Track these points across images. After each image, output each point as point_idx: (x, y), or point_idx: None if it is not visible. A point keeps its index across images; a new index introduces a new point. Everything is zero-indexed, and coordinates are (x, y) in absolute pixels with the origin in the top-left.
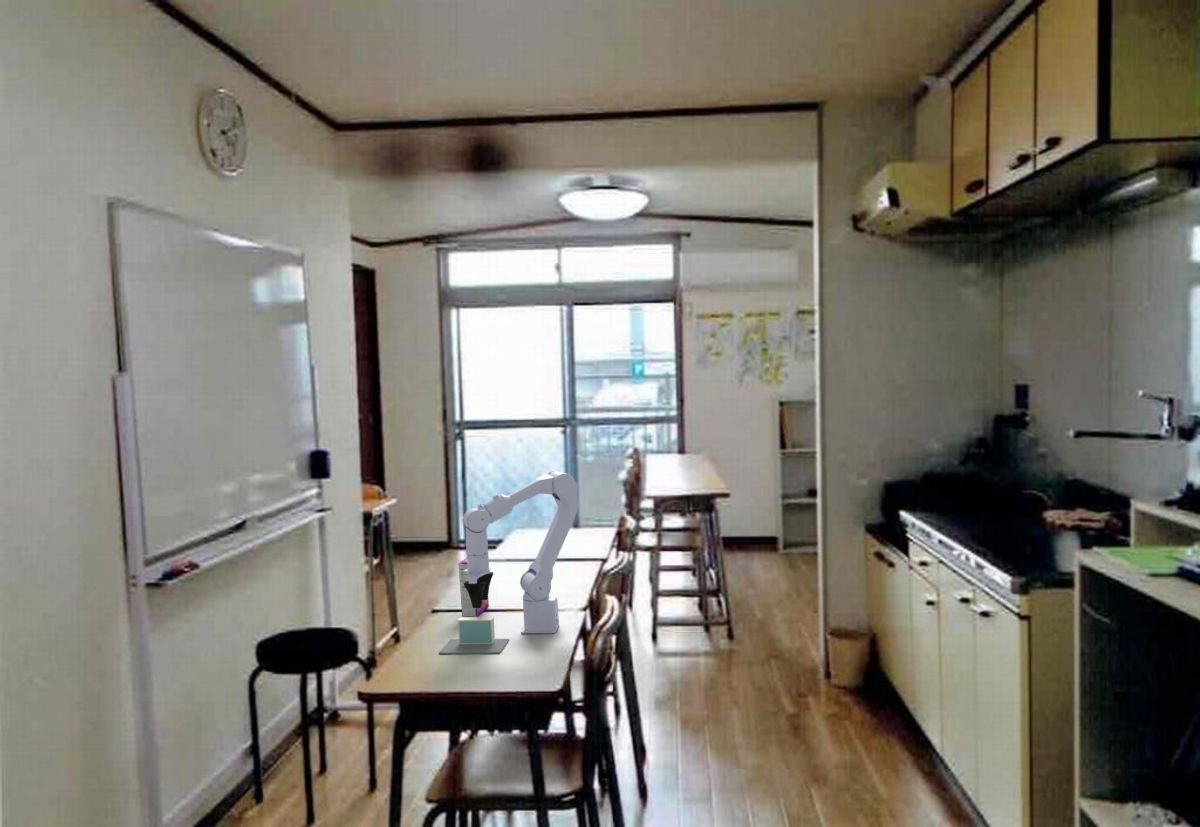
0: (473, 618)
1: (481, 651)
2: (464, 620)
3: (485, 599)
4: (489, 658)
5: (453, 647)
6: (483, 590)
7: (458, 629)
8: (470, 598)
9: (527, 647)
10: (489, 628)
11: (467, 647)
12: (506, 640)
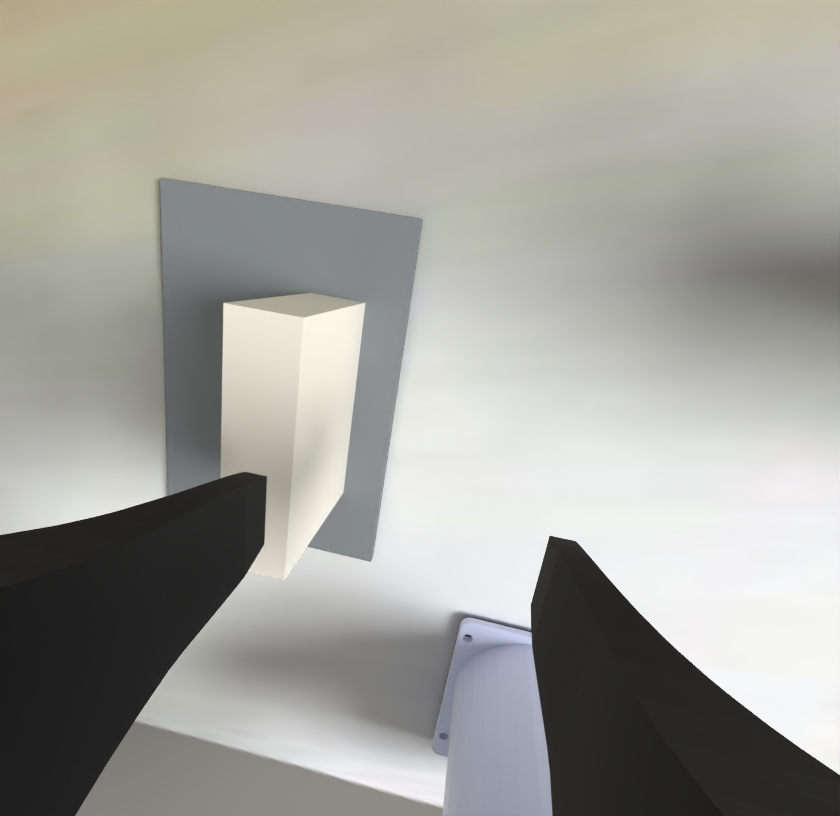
0: (260, 435)
1: (178, 427)
2: (226, 361)
3: (535, 597)
4: (114, 461)
5: (251, 262)
6: (557, 671)
7: (266, 298)
8: (142, 505)
9: (255, 620)
10: None
11: None
12: (341, 547)
